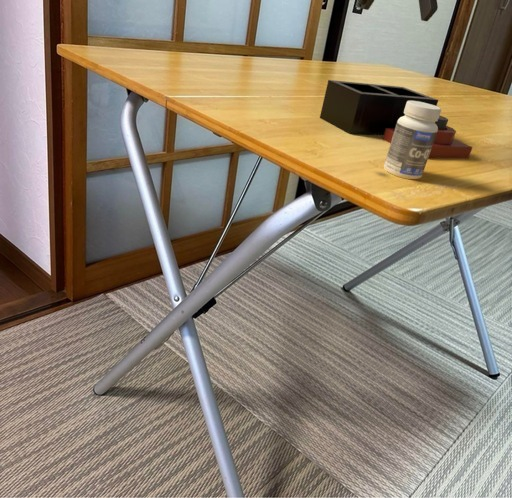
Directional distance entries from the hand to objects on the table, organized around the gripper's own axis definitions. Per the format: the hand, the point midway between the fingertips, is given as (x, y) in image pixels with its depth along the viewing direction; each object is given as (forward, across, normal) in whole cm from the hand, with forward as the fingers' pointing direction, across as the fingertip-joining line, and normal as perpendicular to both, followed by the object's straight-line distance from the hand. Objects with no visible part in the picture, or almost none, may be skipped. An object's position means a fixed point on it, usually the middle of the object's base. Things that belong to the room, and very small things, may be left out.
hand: (399, 11), depth 65 cm
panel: (+12, +10, +12) cm, 20 cm away
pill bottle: (+21, 0, +4) cm, 21 cm away
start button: (+10, +10, +10) cm, 18 cm away
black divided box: (+6, +6, +19) cm, 21 cm away
